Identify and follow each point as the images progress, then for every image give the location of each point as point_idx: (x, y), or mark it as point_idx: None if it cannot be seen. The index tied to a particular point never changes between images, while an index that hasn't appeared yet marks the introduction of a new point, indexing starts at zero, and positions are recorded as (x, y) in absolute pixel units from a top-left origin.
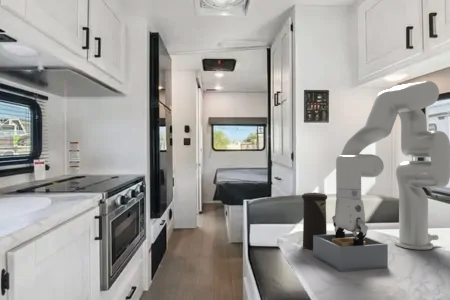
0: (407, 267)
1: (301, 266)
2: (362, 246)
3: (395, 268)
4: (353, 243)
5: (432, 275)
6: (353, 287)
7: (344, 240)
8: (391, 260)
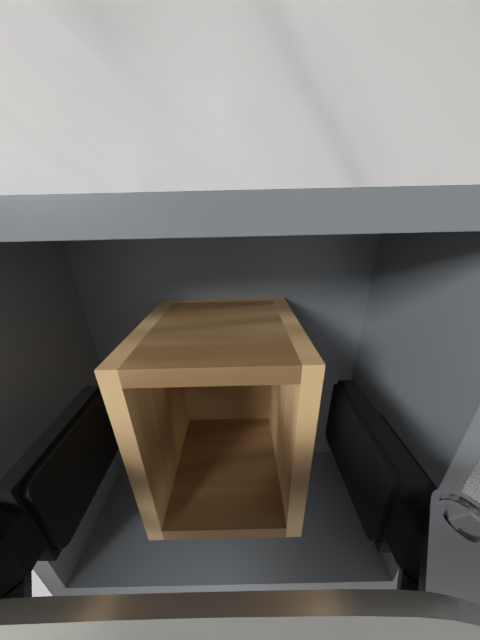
0: (466, 24)
1: None
2: (461, 484)
3: (428, 161)
4: (355, 499)
5: None
6: (474, 476)
7: (151, 449)
8: (272, 18)
